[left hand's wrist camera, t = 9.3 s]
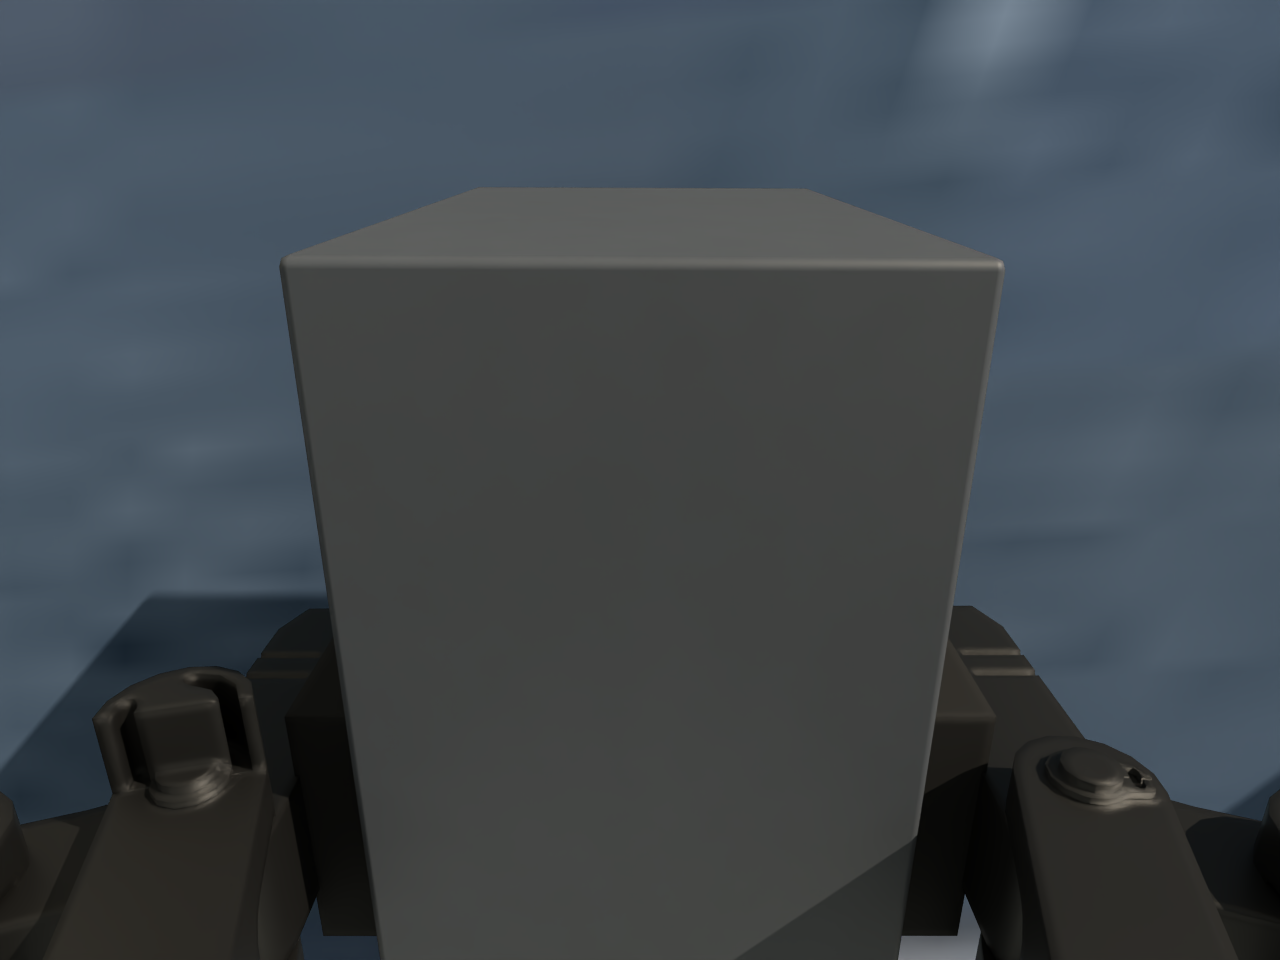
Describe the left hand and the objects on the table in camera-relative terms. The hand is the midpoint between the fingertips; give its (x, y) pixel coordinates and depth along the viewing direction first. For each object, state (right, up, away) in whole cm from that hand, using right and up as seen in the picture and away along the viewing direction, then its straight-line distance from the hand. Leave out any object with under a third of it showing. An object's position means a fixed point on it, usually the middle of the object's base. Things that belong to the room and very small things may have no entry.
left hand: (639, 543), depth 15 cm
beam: (0, -21, +9) cm, 23 cm away
